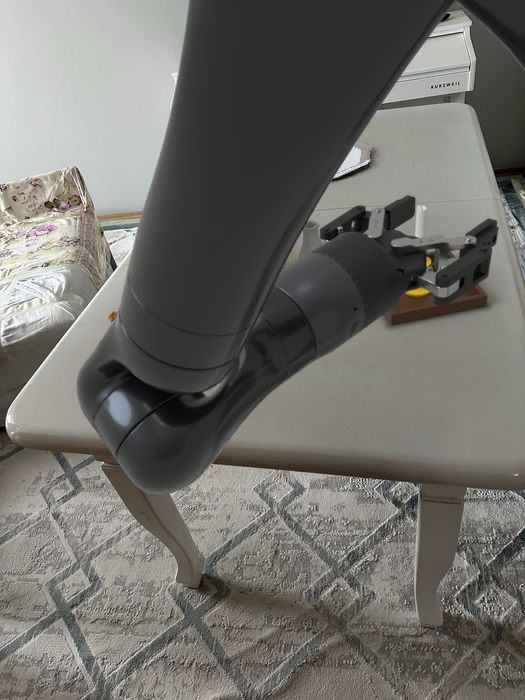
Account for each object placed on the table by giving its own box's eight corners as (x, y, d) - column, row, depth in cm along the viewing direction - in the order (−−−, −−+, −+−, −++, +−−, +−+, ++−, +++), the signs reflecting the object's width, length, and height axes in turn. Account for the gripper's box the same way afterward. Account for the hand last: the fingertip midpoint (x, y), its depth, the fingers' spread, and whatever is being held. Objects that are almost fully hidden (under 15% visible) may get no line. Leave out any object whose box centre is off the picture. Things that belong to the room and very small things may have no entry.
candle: (438, 284, 89) (445, 199, 79) (424, 300, 86) (429, 214, 76) (410, 276, 92) (414, 194, 82) (396, 291, 89) (398, 208, 79)
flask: (317, 257, 103) (313, 210, 96) (341, 271, 98) (338, 223, 91) (288, 271, 100) (281, 225, 94) (310, 286, 95) (305, 238, 89)
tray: (447, 260, 95) (448, 248, 94) (485, 308, 83) (488, 295, 82) (364, 277, 95) (363, 265, 94) (390, 327, 83) (391, 315, 82)
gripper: (399, 290, 34) (532, 195, 41) (262, 230, 43) (389, 161, 50) (397, 372, 39) (516, 275, 46) (274, 303, 48) (388, 231, 55)
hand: (450, 216), depth 48 cm, fingers open, 8 cm apart
